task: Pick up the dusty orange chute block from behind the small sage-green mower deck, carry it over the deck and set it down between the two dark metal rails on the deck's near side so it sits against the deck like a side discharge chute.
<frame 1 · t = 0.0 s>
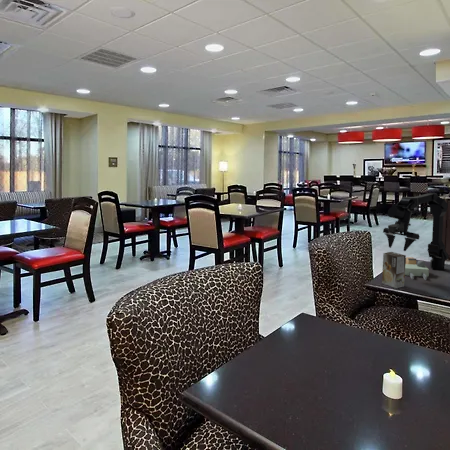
hand: (397, 249, 206), 15 cm above the table, tool pointing down, fingers open, 9 cm apart
coffee box: (392, 285, 196), on the table
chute: (410, 268, 224), on the table
mower deck: (414, 273, 215), on the table
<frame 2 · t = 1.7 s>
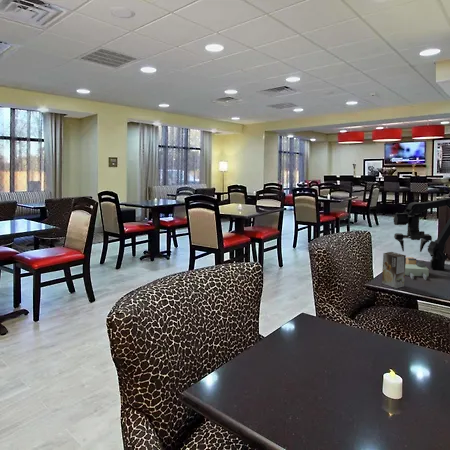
hand: (411, 251, 223), 10 cm above the table, tool pointing down, fingers open, 9 cm apart
nothing on the table moved.
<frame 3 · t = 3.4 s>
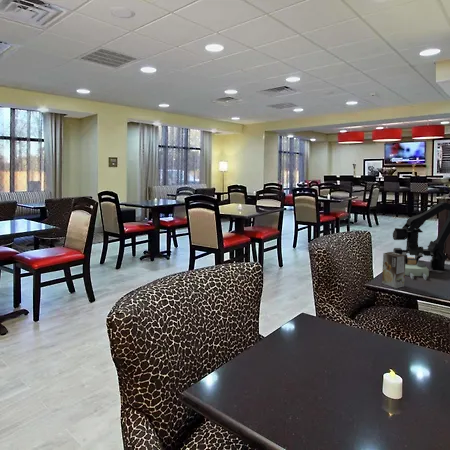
hand: (410, 266, 224), 1 cm above the table, tool pointing down, fingers closed on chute, 4 cm apart
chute: (410, 268, 224), on the table, touching gripper
everything else where it was.
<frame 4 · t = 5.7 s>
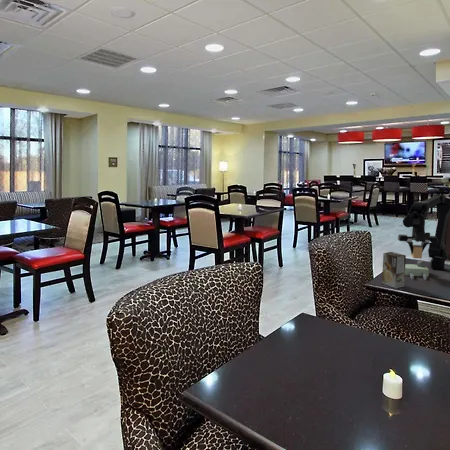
hand: (416, 254, 210), 12 cm above the table, tool pointing down, fingers closed on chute, 4 cm apart
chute: (416, 256, 210), point 10 cm above the table, touching gripper
everything else where it was.
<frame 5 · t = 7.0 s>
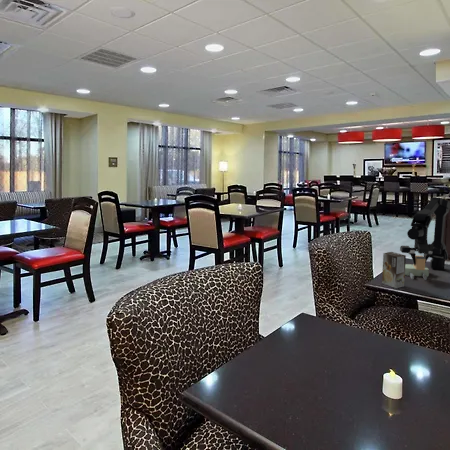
hand: (419, 265, 206), 7 cm above the table, tool pointing down, fingers closed on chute, 4 cm apart
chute: (418, 268, 206), point 5 cm above the table, touching gripper
everything else where it was.
when the fingers open (3 cm above the table, at t = 8.0 s): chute drops 2 cm, on the table.
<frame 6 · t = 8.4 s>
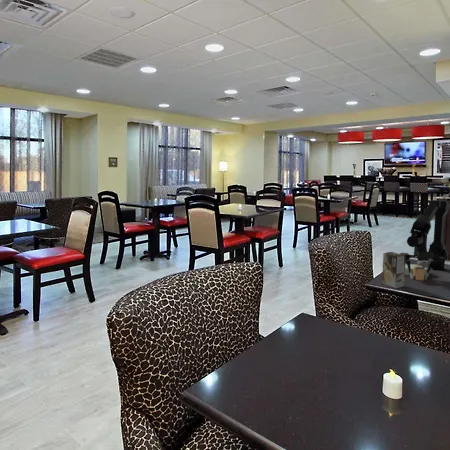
hand: (418, 272, 206), 3 cm above the table, tool pointing down, fingers open, 8 cm apart
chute: (418, 278, 207), on the table
everything else where it was.
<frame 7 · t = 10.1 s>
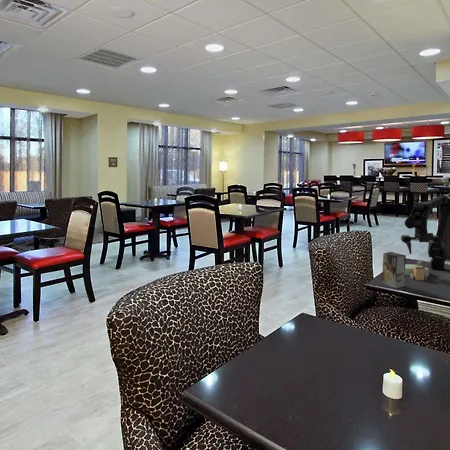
hand: (419, 254, 213), 11 cm above the table, tool pointing down, fingers open, 9 cm apart
nothing on the table moved.
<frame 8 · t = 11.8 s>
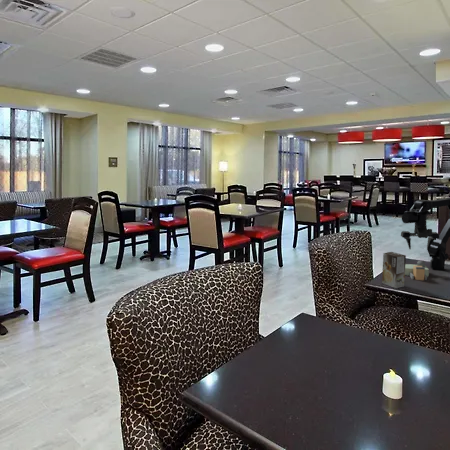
hand: (418, 249, 219), 12 cm above the table, tool pointing down, fingers open, 9 cm apart
nothing on the table moved.
at the end: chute 0.1 cm from the target spot on the mower deck, point 0.0 cm above the mower deck's base; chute tilted 0°; the gripper is holding nothing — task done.
